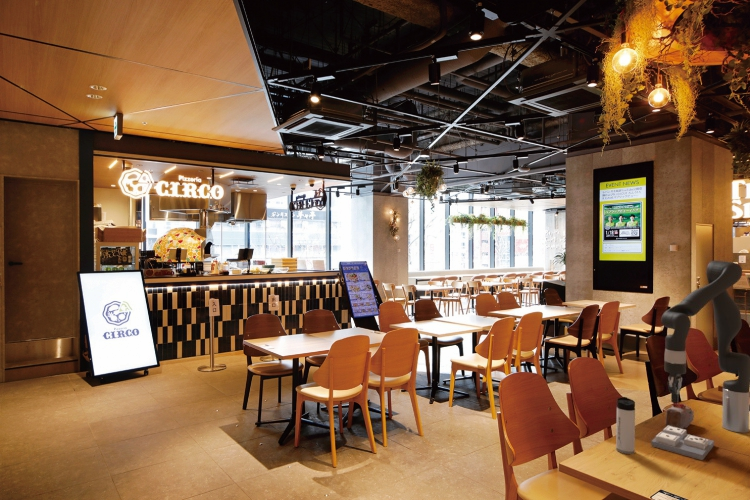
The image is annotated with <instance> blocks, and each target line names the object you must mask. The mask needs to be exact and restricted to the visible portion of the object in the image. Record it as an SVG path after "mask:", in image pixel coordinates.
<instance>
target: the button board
mask: <svg viewBox="0 0 750 500" xmlns="http://www.w3.org/2000/svg"><path fill="white" fill-rule="evenodd" d="M668 427H669V425H668V426H666V427H664V428H663V429H662V431H660V432H658V434H656V435H655V437H654V438H653V439H652V440H651V441H650V443H651V444H650V446H651V447H654V448H657V449H660V450H664V451H668V452H672V453H674V454H678V455H682V456H685V457H689V458H692V459H696V460H700V461H704V459H705V458H706V456H707V455H708V454H709V453H710V452H711V450H713V448H714V446H715V441H714V440H711V439H710V438H709V439H707V438H704V437H700V436H697V435H694V434H693V435H691V434H690V433H689V434H688V433H687V429H685V428H682V429H683V432H682V433H677V432H673V431H669V430H666V429H667V428H668ZM671 427H672V426H671ZM675 428H676V427H675ZM679 429H680V428H679ZM661 433H666V434H670V435H674V436H677V438H676V439H675V440H670V439H667V438H663V437H659V435H660V434H661ZM689 436H694V437H698V438H702V439H705V442H704V443H699V442H695V441H691V440H687V438H688V437H689Z"/></svg>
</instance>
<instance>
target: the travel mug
mask: <svg viewBox="0 0 750 500" xmlns="http://www.w3.org/2000/svg"><path fill="white" fill-rule="evenodd" d="M635 407H636V402H635V400H633V399H632V398H628V397H627V396H622V397H618V398H617V399H616V429H615V430H616V431H615V432H616V435H615V436H616V437H615V438H616V442H615V443H616V444H615V449H616V451H617V452H619V453H621V454H625V455H633V454H635V448H636V447H635V446H636V445H635V444H636V443H635V442H636V440H635V438H636V432H635V431H636V408H635Z"/></svg>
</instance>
